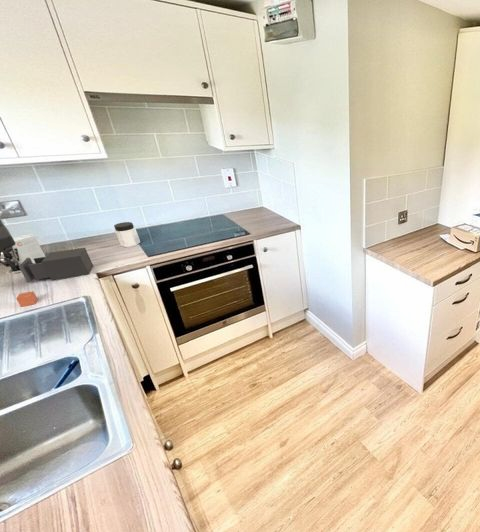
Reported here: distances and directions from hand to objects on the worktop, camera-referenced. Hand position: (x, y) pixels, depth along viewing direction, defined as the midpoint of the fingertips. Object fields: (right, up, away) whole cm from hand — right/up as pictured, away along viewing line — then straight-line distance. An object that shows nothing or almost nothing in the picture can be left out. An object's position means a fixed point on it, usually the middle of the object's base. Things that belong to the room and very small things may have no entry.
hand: (18, 272), depth 142 cm
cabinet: (+14, 0, +10) cm, 17 cm away
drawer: (+5, -2, +4) cm, 7 cm away
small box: (-15, +5, +19) cm, 25 cm away
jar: (+16, +15, +41) cm, 46 cm away
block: (+19, -12, -12) cm, 26 cm away
